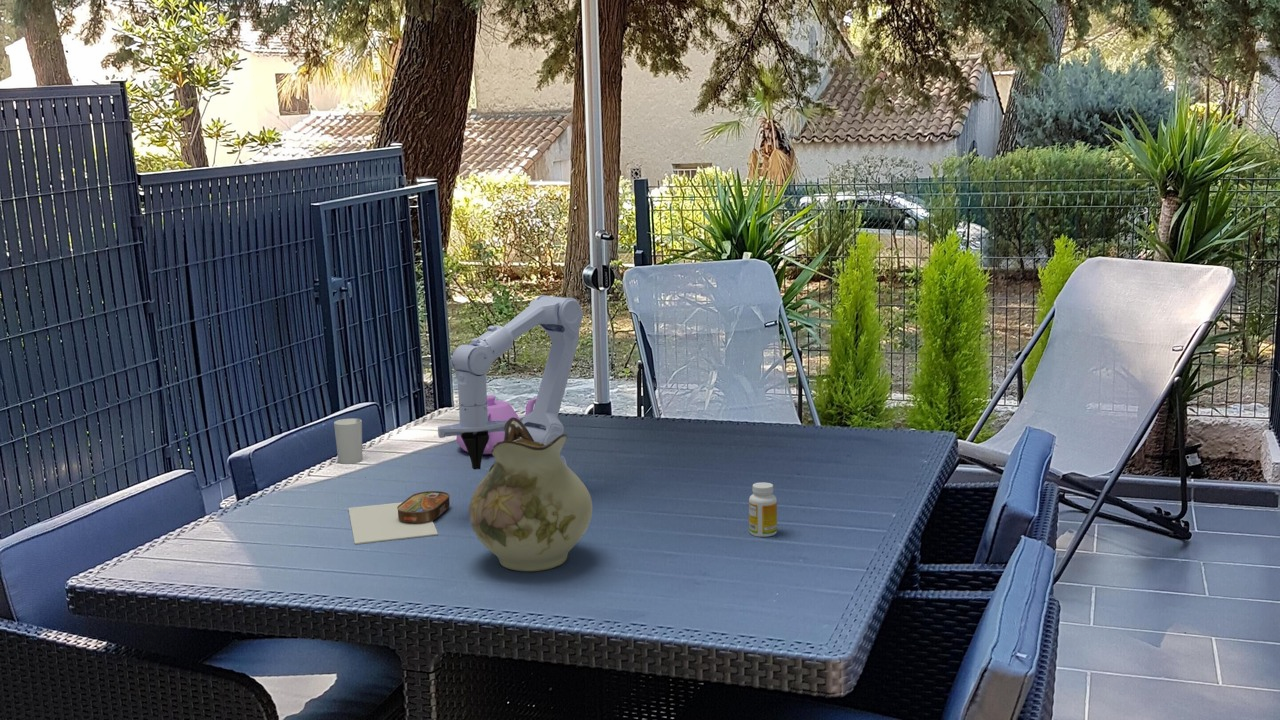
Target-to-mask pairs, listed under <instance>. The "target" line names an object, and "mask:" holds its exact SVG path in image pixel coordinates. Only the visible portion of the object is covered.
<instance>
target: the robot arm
mask: <svg viewBox="0 0 1280 720" xmlns="http://www.w3.org/2000/svg"><path fill="white" fill-rule="evenodd" d="M583 316H584V312H583V309H582V306H581V305H580V303H579V301H578V300H577V299H576V298H574V297H561V296H550V295H546V294H541V295H539V296H537V297H536V298H535V299H533V300H531V301H530V302H529V305H528V306H527V307H526V308H525V309H524V310H522V311H520V313H518V314H517V315H516V316H515V317H514V318H512V319H511V320H510V321H508V322H507V323H506V324H505V325H504V326H502V325H497V324H496V325H490V326H488V327H487V328H486V329H487V331H486V332H484V333H483V334H481V335H480V336H478V337H477V338H476V337H474V338H472V339H471V342H469V344H460V345H459V346H458V347H456V348H455V350H454V351H453V353H452V356H451V359H450V360H449V362H450V366H451V368H452V369H453V370H454V371H455V378H456V380H457V393H458V412H459V422H458V423H454V424H448V425H443V426H442V425H441V426H437V435H438V438H440V439H443V438H447V437H455V436H456V437H457V435H460V436H461V438H462V440H463V442H464V444H465V446H466V448H467V450H468V452H467V453H468V455H469V458H470V462H471V467H472V470H474V471H475V470H481V467H482V466H481V464H482V458H483V456H484V454H483V452H484V449H485V447H486V445H487V443H488V440H489V435H488V433H490V432H500V431H505V428H504V426H505V424H506V422H507V421H508V420H507V421H488V409H487V394H488V393H487V373H488V372H489V370H490V369H491V366H492V364H493V362H495V361H496V359H498V358H500V357H501V356H503V355H504V354H505V353H507V352H508V351H509V350H511V349H512V348H513V345H514V340H516V339H517V338H518V337H519V338H520V336H522V335H524V334H526V333H527V332H529V331H530V330H532V329H533V328H535V327H537V326H540V327H541V329H543V331H544V332H545V333H546V334H547V335H548V336H549V338H550V341H551V344H550V349H549V352H548V356H547V359H546V364H545V367H544V370H543V373H542V378H541V380H540V384H539V388H538V391H537V395H536V397H535V398H536V402H535V404H534V407H533V411H532V412H531V413H529V414H528V415H526V416H525V415H524V416H523V417H522V420H521V421H522V423H523V424H524V425H525V427H526V428H527V430H528V431H529V433H530V434H531V436H532V438H533V440H534V441H535V442H539V443H543V444H544V445H547V444H548V443H550V442H551V441H553V440H554V439H556V438H557V437H559V436H560V435H562V434H564V432H565V431H564V430H565V427H564V425H563V423H562V422H561V421H560V419H559V418H558V416H559V412H560V409H561V406H562V402H563V398H564V395H565V390H566V388H567V384H568V380H569V376H570V373H571V371H572V367H573V362H574V359H575V355H576V352H577V347H578V343H579V341H580V328H581V324H582V320H583V318H584V317H583ZM543 427H544V428H543ZM473 434H474V435H473ZM562 450H563V447H562V448H561V451H560V453H561V452H562ZM560 457H561V460H562V461H563V463H564V464H565V465H566V466H567V467H568V465H567V461H566V457H565V455H561V454H560Z"/></svg>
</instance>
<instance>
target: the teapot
mask: <svg viewBox="0 0 1280 720" xmlns="http://www.w3.org/2000/svg"><path fill="white" fill-rule="evenodd" d="M536 398H537V397H534V398H532V399H530V400H527V403H526V406H525V414H524V417H525V416H526V415H528V414H529V413H531V412H532V411H533V409H534V406H535V402H536ZM487 409H488V421H507V420H509V419H510V418H512V417H514V418H517V419H519V420H520V421H521V422H522V420H521V418H520V417H519V415H518V413H517V412H516V411H515V409H514V408H513V406H512V405H511V404H510V403H509V402H508V401H503V400H497V399H496V395H491V394H490V395H489V394H488V395H487ZM473 435H474V434H473ZM488 435H489V440H488V443H487V445H486V447H485V449H484V452H483V455H492V453H491V450H492V449H493V446H494V445H496V444H497V443H498V442H502V441H504V436H505V431H500V432H490V433H488ZM456 442H457V444H458V446H460V448H461V449H462V450H463V451H465V452H467V453H468V450H467V448H466V446H465V444H464V442H463V440H462V438H461V436H460V435H457V436H456Z"/></svg>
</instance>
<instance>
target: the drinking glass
mask: <svg viewBox="0 0 1280 720" xmlns="http://www.w3.org/2000/svg"><path fill="white" fill-rule="evenodd" d="M333 426H334V427H333V428H334V436H335V445H336V450H337V451H336V454H337V460H338V461H337V462H338V463H339V464H341V465H354V464H358V463H360V462H361V463H362V461H363V421H362V419H360V418H342V419H338V420H334V422H333Z"/></svg>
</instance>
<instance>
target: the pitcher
mask: <svg viewBox="0 0 1280 720" xmlns="http://www.w3.org/2000/svg"><path fill="white" fill-rule="evenodd" d="M519 419H520V418H519ZM519 419H517V418H514V417H512V418H510V419H509V420H508V421H507V422H506V424H505V426H504V428H505V436H504V441H502V442H498V443H497V444H496V445H494V446H493V449H492V450H491V453H492V454H491V455H492V456H493V458H494V460H495V461H494V463H493V464H491V466H490V468H489V470H488V473H487V474H486V475H484V477H483V479H482V480H480V483H479V484H477V487H476V488H475V489H474V491H473V494H471V495H472V496H471V499H470V501H469V508H468V515H469V521H470V525H471V528H472V531H473V533H474V534H475V536H476V537H477V539H478V540H479V542H480V543H481V544H482V545H483V546H484V547H485V548H486V549H487V550H488V551H489V552H491V553H492V554H493V555H495V556H497V559H498V562H499V563H500V565H501V566H502V567H504V568H505V569H509V570H513V571H517V572H541V571H546V570H551V569H553V568H554V569H555V568H556V567H560V566H561V565H562V564H564V563H565V562H566V561H567V560H568V559H567V558H568V554H569V552H570V551H571V550H572V549H573V548H574V547H575V546H576V544H578V542H579V541H580V540H581V539H582V537H583V536H584V534H585V533H586V532H587V530H588V528H589V525H590V523H591V520H592V516H593V501H592V500H593V499H592V496H591V494H590V491H589V490H588V488H587V487H586V485H585V484H584V482H582V481H583V480H581V479H580V478H579V477H578V475H577V474H576V473H575V472H574V471H573V470H572V469H571V468H570V467H569V466H568V465H567V466H566V465H565V464H564V463H563V461H562V460H561V457H560V456H561V452H562V450H561V448H562V449H563V447H564V445H565V443H566V441H567V438H568V434H565V433H563V434H562V435H560V436H559V437H557V438H556V439H554V440H553V441H551V442H550V443H548V444H547V445H544V444H543V443H539V442H535V441H534V440H533V438H532V436H531V434H530V433H529V431H528V430H527V428H526V427H525V425H524V424H523V423H522V422H521V421H522V420H521V419H520V420H519ZM560 451H561V452H560Z"/></svg>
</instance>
